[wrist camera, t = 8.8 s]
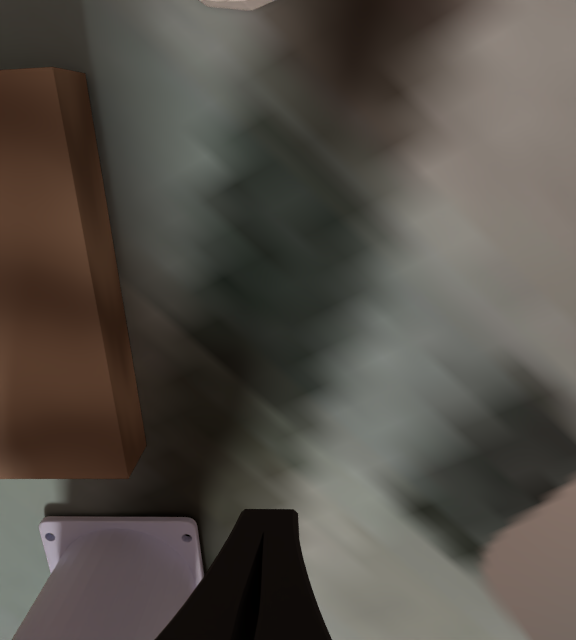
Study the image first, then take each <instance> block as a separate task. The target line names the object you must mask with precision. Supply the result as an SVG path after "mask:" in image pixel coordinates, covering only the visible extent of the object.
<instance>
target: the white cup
mask: <svg viewBox="0 0 576 640" xmlns="http://www.w3.org/2000/svg"><path fill="white" fill-rule="evenodd" d="M198 1H200V2H201V3H203V4H204V5H206V6H208V7H216V8H227V9H237V10H248V11H252V10H255V9H257V8H259V7H262V6H264V5H266V4H268V3H271V2H273V1H275V0H198Z"/></svg>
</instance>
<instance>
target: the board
mask: <svg viewBox="0 0 576 640" xmlns="http://www.w3.org/2000/svg"><path fill="white" fill-rule="evenodd" d="M146 445H147V444H146V438H145V432H144V426H143V420H142V414H141V408H140V402H139V396H138V390H137V384H136V378H135V372H134V366H133V360H132V354H131V348H130V342H129V336H128V330H127V323H126V317H125V311H124V305H123V299H122V293H121V287H120V281H119V275H118V269H117V263H116V257H115V251H114V245H113V239H112V233H111V227H110V221H109V215H108V209H107V202H106V196H105V190H104V184H103V178H102V172H101V166H100V160H99V154H98V148H97V142H96V136H95V130H94V124H93V118H92V112H91V106H90V100H89V94H88V88H87V82H86V75H85V73H81V72H76V71H71V70H66V69H60V68H55V67H43V68H27V69H10V70H0V479H129V477H130V475H131V473H132V471H133V470H134V468H135V466H136V464H137V462H138V460H139V458H140V457H141V455H142V453H143V451H144V449H145V447H146Z"/></svg>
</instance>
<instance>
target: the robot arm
mask: <svg viewBox="0 0 576 640" xmlns="http://www.w3.org/2000/svg"><path fill="white" fill-rule="evenodd" d="M39 531H40V534H41V538H42V542H43V546H44V549H45V553H46V557H47V561H48V564H49V568H50V572H51V575H50V577H49V578H48V580H47V582H46V583H45V585H44V587H43V588H42V590H41V592H40V593H39V595H38V597H37V598H36V600H35V602H34V603H33V605H32V607H31V608H30V610H29V612H28V613H27V615H26V617H25V618H24V620H23V622H22V623H21V625H20V627H19V628H18V630H17V632H16V633H15V635H14V637H13V638H12V640H332V639H331V637H330V634H329V632H328V630H327V627H326V625H325V623H324V620H323V618H322V615H321V612H320V610H319V607H318V604H317V602H316V599H315V596H314V593H313V590H312V587H311V584H310V581H309V578H308V574H307V571H306V567H305V564H304V560H303V556H302V551H301V546H300V541H299V526H298V513H297V512H296V511H295V510H293V509H245V510H244V511H242V512H241V514H240V516H239V518H238V520H237V522H236V524H235V526H234V528H233V530H232V532H231V533H230V535H229V537H228V539H227V540H226V542H225V544H224V545H223V547H222V549H221V551H220V552H219V554H218V555H217V557H216V558H215V560H214V562H213V563H212V565H211V566H210V568H209V569H208V571H207V572H206V574H205V575H204V572H203V564H202V557H201V549H200V542H199V534H198V527H197V523H196V522H195V520H194V519H192V518H189V517H81V516H48V517H45V518H43V520H42V521H41V523H40V524H39ZM50 533H52V534H53V535H52V534H50ZM184 534H188V535H190V537H188V536H186V535H184Z"/></svg>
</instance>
